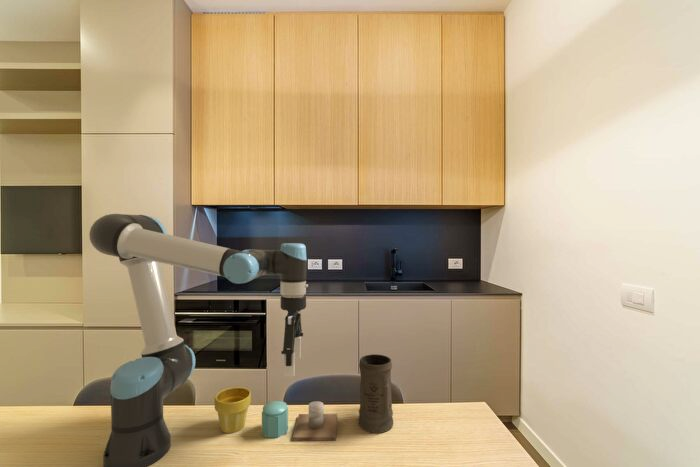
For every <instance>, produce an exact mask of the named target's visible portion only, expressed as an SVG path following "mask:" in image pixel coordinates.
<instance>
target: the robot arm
mask: <svg viewBox="0 0 700 467" xmlns="http://www.w3.org/2000/svg"><path fill="white" fill-rule="evenodd" d="M88 234H89V241H90V243H91V245H92V246H93V248H94V249H95V250H96V251H98V252H99V253H101V254H103V255H107V256H110V257H111V256H113V257H117V258H118V259H119V263H120V264H121V265H122V266H125V267H126V268H127V271H128V275H129V280H130V285H131V288H132V293H133V297H134V301H135V306H136V309H137V310H136V311H137V315H138V319H139V324H140V328H141V332H142V337H143V340H144V347H143V349H142V350H141V352H140V354H141V355H140V356H141V357H138V358H136V359H135V360H130V361H128V362H125V363H123V364H122V365H120V366H119V367H117V369H116V370H115V371H114V372H113V374H112V376H111V382H110V383H111V384H110V387H109V392H110V416H111V417H110V418H111V422H110V423H111V425H110V426H111V427H110V428H111V431H110V434H109V437H108V440H107V442H106V446H105V448H104V451H103V455H102V456H103V457H102V458H103V459H102V460H103V463H102V464H103V467H148V466H151V465H153V464H154V463H156V462H158V461H159V460H160V459H162V458H163V457H164V456H165V455H166V454H167V453H168V452H169V451H170V449H171V444H172V442H171V441H172V440H171V439H172V438H171V432H170V431H169V428H168V426H167V424H166V421H165V419H164V399H165V398H166V397H168V396H169V395H170V394H171V393H172V392H174V391H175V390H176V389H178V388H179V387H180V386H181V385H183V384H184V383H185V382H187V380H188V379H189V378H190V376H191V375H192V374H193V372H194V370H195V368H196V356H195V353H194V351H193V349H192V348H191V347H189V345H187V344H185V341H184V338H183V337H180V336H178V335H177V331H176V327H175V322H174V317H173V313H172V308H171V304H170V300H169V296H168V295H169V294H168V291H167V287H166V282H165V277H164V273H163V270H162V264H166V265H170V266H176V267H179V268H184V269H189V270H193V271H196V272H197V271H198V272H201V273H205V274H210V275H214V276H219V277H222V278H226V279H227V280H228V281H229V282H231V283H232V284H246V283H248V282H251V281H253V280H254V279H257V278H259V277H261V276H280V283H279V284H280V288H279V289H280V290H279V291H280V292H279V294H280V295H281V296H280V309H281V310H283V311H286V312H287V315H285V317H284V322H285V323H284V336H283V347H282V350H281V351H280V352H281V355H283V356H284V357H283V371H284V372H283V377H284V378H294V377H295V359H301V358H302V347H301V345H302V337H304V332H302V331H303V329H302V314H301V311H302V310H305V309H306V307H307V296H306V294H307V288H309V284H307V261H308V260H307V259H308V258H307V247H306V245H305V244H304V243H299V242H298V243H297V242H296V243H295V242H294V243H293V242H292V243H289V242H288V243H285V242H284V243H281V245H280V249H257V248H255V249H254V248H252V249H244V250H238V249H231V248H230V247H225V246H220V245H215V244H211V243H206V242H203V241H198V240H193V239H189V238H185V237H182V236H181V237H180V236H175V235H171V234H167V229H166V227H165V225H164V224H163V223H162V222H161V221H160V220H158V219H157V218H155V217H152V216H148V215H145V214H123V213H122V214H121V213H109V214H105V215H103V216H101V217H99V218H98V219H95V221H94V222H93V223H92V225H91V226H90V229H89V233H88ZM161 263H162V264H161Z"/></svg>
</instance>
